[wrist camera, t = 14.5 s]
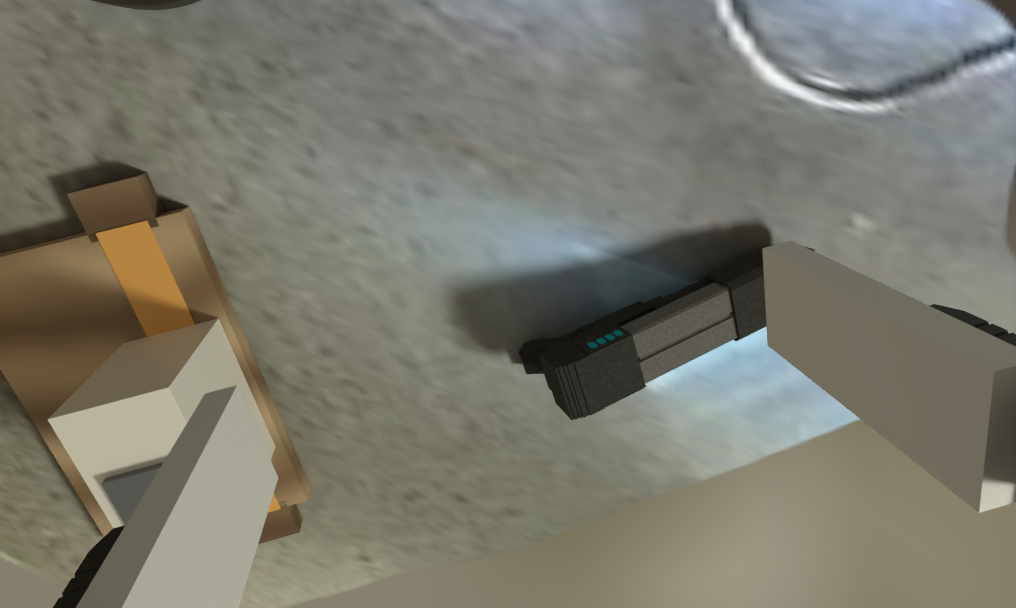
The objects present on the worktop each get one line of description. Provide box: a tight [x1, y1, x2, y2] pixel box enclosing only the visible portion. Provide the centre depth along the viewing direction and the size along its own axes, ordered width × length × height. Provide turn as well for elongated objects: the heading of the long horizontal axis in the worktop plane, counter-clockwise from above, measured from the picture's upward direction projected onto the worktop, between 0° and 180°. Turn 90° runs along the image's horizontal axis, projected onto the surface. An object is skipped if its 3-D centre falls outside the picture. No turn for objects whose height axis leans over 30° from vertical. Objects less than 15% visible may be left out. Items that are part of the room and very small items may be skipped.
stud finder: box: [47, 318, 276, 528], centre depth 37 cm, size 10×6×10 cm, turn 13°
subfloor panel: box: [0, 172, 311, 544], centre depth 41 cm, size 27×14×2 cm, turn 13°
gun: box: [519, 247, 815, 420], centre depth 44 cm, size 4×20×10 cm, turn 108°
